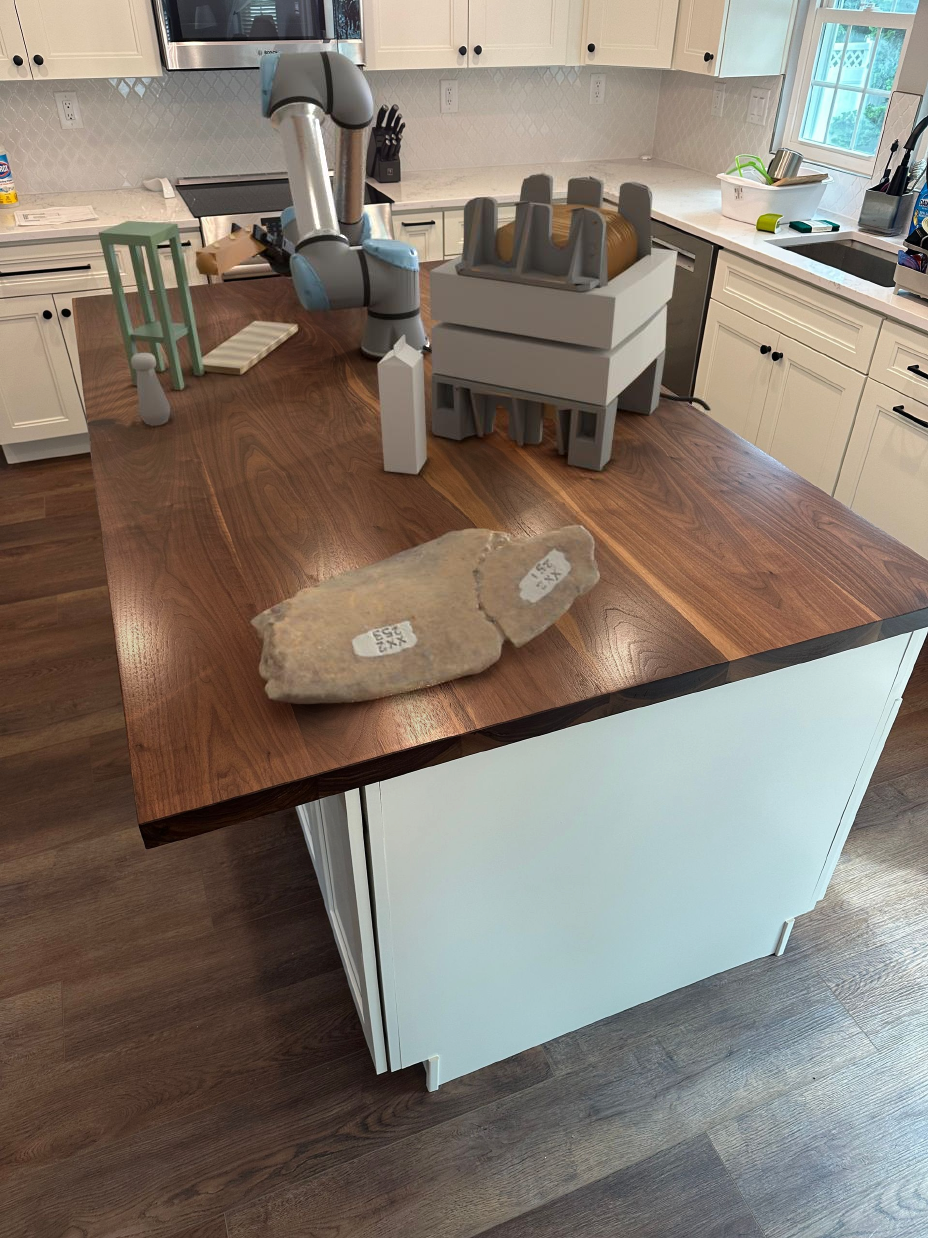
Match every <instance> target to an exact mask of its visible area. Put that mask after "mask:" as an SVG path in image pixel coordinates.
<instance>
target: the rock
mask: <svg viewBox="0 0 928 1238" xmlns="http://www.w3.org/2000/svg"><path fill="white" fill-rule="evenodd" d="M511 539H512V535H511V534H510V533H509V532H505V531H499V530H490V529H488V528H465V529H461V530H451V531H448V532H446V533H445V534H442V535H440V536H439V537H437V538H435V539H432V540H430V541H426V542H423V543H421V544H418V545H417V546H414V547H411V548H407V549H405V550H403V551H400V552H398V553H395V554H394V555H391V556H389V557H387V558H384V559H382V560H379V561H376V562H374V563H371V564H370V565H366V566H362V567H358V568H355V569H351V570H346V571H341V572H339V573H337V574H333V575H331V576H330V577H329V578H328V579H327V578H326V579H322V580H320V581H318V582H316V583H314V584H313V585H312V586H311V587H304V588H302V589H300V590H299V591H297V592H295V593H294V595H293V597H289V598H287V599H284V600H283V601H282V600H281V602H279V603H277V604H275V605H273V606H271V607H269V608H268V609H265V610H263V611H262V612H261V613H259V614H258V615H256V616H254V617H253V618H252V619H251V620H250V625H251V626H252V627H254V628H255V630H256V635H257V637H258V639H259V640H261V641H262V643H263V647H262V650H261V655H260V662H259V663H258V664H259V665H258V672H259V676H260V678H261V679H263V680H265V681H266V682H267V683H266V684H265V686H264V691H265V693H266V695H267V697H268V699H269V700H272V701H275V702H280V703H287V704H297V705H314V704H315V705H316V704H343V703H342V702H345V703H344V704H347V703H348V704H349V703H353V702H352V701H356V702H355V703H360V702H365V701H366V702H367V701H373V700H376V699H377V700H378V699H382V698H386V697H390V696H395V695H396V696H397V695H400V694H404V693H408V692H413V691H416V690H421V689H425V688H432V687H435V686H437V685H440V684H443V683H447V682H450V681H452V680H456V679H459V678H462V677H465V676H471V675H477V674H480V673H482V672H483V671H485V670H488V668H490V667H491V666H492V665H493V664H495V663H496V662H497V661H499V660H500V657H501V654H502V647H503V646H502V645H504V643H505V642H506V643H507V644H508V645H509V647H510V648H512V649H519V648H522V647H523V646H524V645H526V644H527V643H528V642H530V641H531V640H532V639H534V638H535V637H537V636H539V635H540V634H542V633H543V632H544V631H546V630H547V629H549V628H550V627H551V626H552V625H553V624H555V623H556V622H557V621H558V620H559V619H560V618H561V617H562V616H564V615H565V614H566V613H567V612H568V610H569V609H570V607H571V606H572V605H573V603H574V602H575V599H576V598H579V597H583V596H585V595H586V594H587V593H589V592H590V591H591V590H592V589H593V588H594V586H595V585H596V584H597V583H598V582H599V581H600V577H601V575H600V570H599V567H598V562H597V561H596V560H595V540H594V537H593V535H591V533H590V532H589V531H588V530H587V529H586V528H584V526H583V525H579V524H574V525H567V526H566V525H565V526H563V527H561V528H560V529H558V530H552V531H546V532H543V533H539V534H536V535H533V536H526V537H523V538H517V539H515V538H514V540H513V541H511ZM490 665H491V666H490ZM487 667H488V668H487ZM484 668H485V669H484ZM482 669H483V670H482ZM480 670H481V671H480ZM475 672H476V673H475ZM471 673H472V674H471ZM465 674H466V675H465ZM462 675H463V676H462ZM459 676H460V677H459ZM452 678H453V679H452ZM446 680H447V681H446ZM442 681H444V682H442ZM438 682H440V683H438ZM435 683H436V684H435ZM432 684H433V685H432ZM427 685H430V686H427ZM419 687H420V688H419ZM415 688H416V689H415ZM411 689H412V690H411ZM408 690H409V691H408ZM400 692H401V693H400ZM396 693H397V694H396ZM391 694H392V695H391ZM387 695H388V696H387ZM383 696H384V697H383ZM377 697H379V698H377ZM372 698H373V699H372ZM366 699H368V700H366ZM359 700H362V701H359Z"/></svg>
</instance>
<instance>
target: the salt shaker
mask: <svg viewBox="0 0 928 1238" xmlns="http://www.w3.org/2000/svg"><path fill="white" fill-rule="evenodd" d="M137 353H138V354H135V355H134V356H133V357H132V359H131V364H132V367H133V368H134V369H135V370H136V371H137V386H136V389H137V406H138V407H137V413H138V415H139V416H140V418H141V419H142V421H143V422H144V423H145V424H146V425H148V426H150V427H155V426H162V425H165V424H166V423H168V422H169V419H170V413H171V406H170V403H169V401H168V399H167V397H166V394H165V392H164V390H163V387H162V385H161V383H160V381H159V378H158V376H157V373H156V371H155V368H154V367H156V359H155V357H154V356H153V355H152V354H151V352H150V353H149V352H137Z"/></svg>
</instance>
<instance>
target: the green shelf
mask: <svg viewBox="0 0 928 1238" xmlns="http://www.w3.org/2000/svg"><path fill="white" fill-rule="evenodd" d="M98 238H99V242H100V245H101V250H102V254H103V258H104V262H105V267H106V271H107V275H108V280H109V285H110V288H111V294H112V297H113V301H114V306H115V310H116V315H117V320H118V324H119V327H120V332H121V336H122V341H123V346H124V350H125V353H126V358H127V363H128V366H129V367H128V368H129V371H130V375H131V376H130V377H131V380H132V384H133V386H136V387H137V371H136V370H135V369H134V368H133V367H132V364H131V359H132V357H133V356H134V355H135V354H138V353H139V352H138V349H137V344H136V342H145V343H148V345H149V349H150V354H152V355H153V356H154V357H155V359H156V367H154V371H155V372H159V373H160V372H164V371H165V370H166V365H165V360H164V356H163V355H164V354H163V351H162V347H161V344H164V348H165V352H166V357H167V362H168V366H169V372H170V377H171V381H172V387H173V390H175V391H182V390H184V389H185V383H184V377H183V372H182V367H181V362H180V357H179V353H178V351H179V350H178V347H177V342H176V341H178V340H180V339H181V338H182V337H184V336H186V338H187V344H188V350H189V354H190V359H191V365H192V370H193V375H194V376H199V377H201V376H203V375H204V374H205V371H204V368H203V362H202V357H203V356H202V352H201V345H200V341H199V335H198V330H197V329H198V328H197V323H196V319H195V313H194V308H193V303H192V295H191V291H190V285H189V280H188V279H189V278H188V275H187V268H186V263H185V258H184V252H183V246H182V242H181V241H182V240H181V235H180V230H179V225H178V223H170V222H169V223H168V222H156V221H155V222H153V221H139V220H138V221H136V220H127V221H124V222H121V223H119V224H116V225H114V226H111V227H109V228H106V229H103V230H101V231H99V232H98ZM166 241H168V243H169V248H170V253H171V254H170V255H171V258H172V264H173V269H174V274H175V275H174V276H175V280H176V286H177V291H178V296H179V301H180V307H181V312H182V317H183V323H180V322H173V320H172V316H171V311H170V306H169V300H168V296H167V291H166V286H165V280H164V275H163V270H162V266H161V260H160V255H159V249H158V245H160V244H162V243H164V242H166ZM114 245H116V246H117V245H118V246H128V251H129V255H130V260H131V265H132V266H131V267H132V269H133V274H134V281H135V284H136V288H137V293H138V297H139V302H140V307H141V312H142V317H143V322H144V323H143V324H141V325H140V326H138V327H136V328H135V329H133V326H132V322H131V317H130V313H129V308H128V304H127V300H126V296H125V291H124V287H123V281H122V277H121V273H120V269H119V264H118V259H117V255H116V250H115V246H114ZM141 247H143V248H144V249H145V255H146V259H147V265H148V269H149V273H150V279H151V284H152V289H153V294H154V299H155V304H156V308H157V312H158V313H157V314H158V318H159V321H157V320H156V317H155V313H154V308H153V303H152V298H151V292H150V288H149V284H148V278H147V274H146V269H145V264H144V260H143V254H142V249H141Z"/></svg>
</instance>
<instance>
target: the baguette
mask: <svg viewBox="0 0 928 1238" xmlns="http://www.w3.org/2000/svg"><path fill="white" fill-rule="evenodd" d="M257 225H258V226H260V227H261V228H262V229H264V230H265V231H266V232H268V229H267V225H259V224H257ZM252 234H253V224H247V225H246V226H243V227H241V229H239V230H237V231H235V232H233V233H232V234H231V233H230V234H228V235H226V236H223V237H221V238H220V239H218V240H215V241H214V242H212V243H210V244H208V245H206V246H204V247H202V248H200V249H198V250H195V257H196V259H195V266H196V269H197V270H198V273H199V275H204V276H218V277H219V276H220V275H223V274H224V273H225V272H227V271H229V270H231V269H233V268H234V267H236V266H238V265H240V264H241V263H243V262H245V261H246V260H248V259H250V258H252V256H254V255H255V254H257V253H259V252H261V251H262V250H264V249H266V248H268V247H266V246H264V245H263V244H261V243H260V242H259V241H257V240H256V239H254V238H253V237H252Z"/></svg>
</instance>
